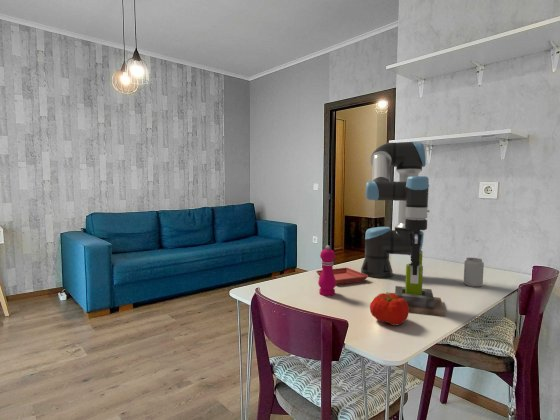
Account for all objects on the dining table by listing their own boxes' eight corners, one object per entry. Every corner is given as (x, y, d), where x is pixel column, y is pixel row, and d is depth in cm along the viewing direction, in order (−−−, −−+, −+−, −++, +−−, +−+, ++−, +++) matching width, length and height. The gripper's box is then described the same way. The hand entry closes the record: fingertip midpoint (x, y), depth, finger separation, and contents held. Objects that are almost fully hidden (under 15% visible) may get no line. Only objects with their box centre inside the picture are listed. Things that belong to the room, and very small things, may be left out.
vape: (419, 302, 130) (421, 247, 128) (403, 298, 134) (405, 245, 133) (423, 299, 132) (425, 246, 131) (408, 295, 137) (410, 243, 135)
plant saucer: (315, 277, 174) (315, 270, 173) (346, 273, 181) (346, 266, 180) (335, 287, 157) (335, 279, 157) (369, 282, 164) (369, 275, 164)
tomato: (365, 314, 124) (365, 290, 124) (400, 314, 125) (401, 290, 124) (375, 329, 112) (376, 302, 111) (415, 329, 112) (416, 302, 111)
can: (466, 281, 165) (468, 256, 164) (484, 285, 160) (486, 258, 159) (461, 285, 160) (462, 258, 159) (479, 288, 155) (480, 261, 154)
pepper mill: (324, 297, 142) (325, 247, 140) (314, 292, 148) (315, 244, 147) (339, 294, 145) (340, 246, 144) (329, 290, 152) (329, 243, 150)
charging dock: (384, 309, 129) (384, 295, 129) (386, 295, 144) (386, 283, 144) (445, 316, 123) (445, 302, 122) (440, 301, 138) (440, 288, 137)
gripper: (429, 221, 121) (426, 289, 123) (425, 216, 138) (423, 276, 140) (405, 220, 124) (403, 286, 125) (405, 215, 141) (403, 274, 142)
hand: (414, 281), depth 133 cm, fingers closed on vape, 5 cm apart
